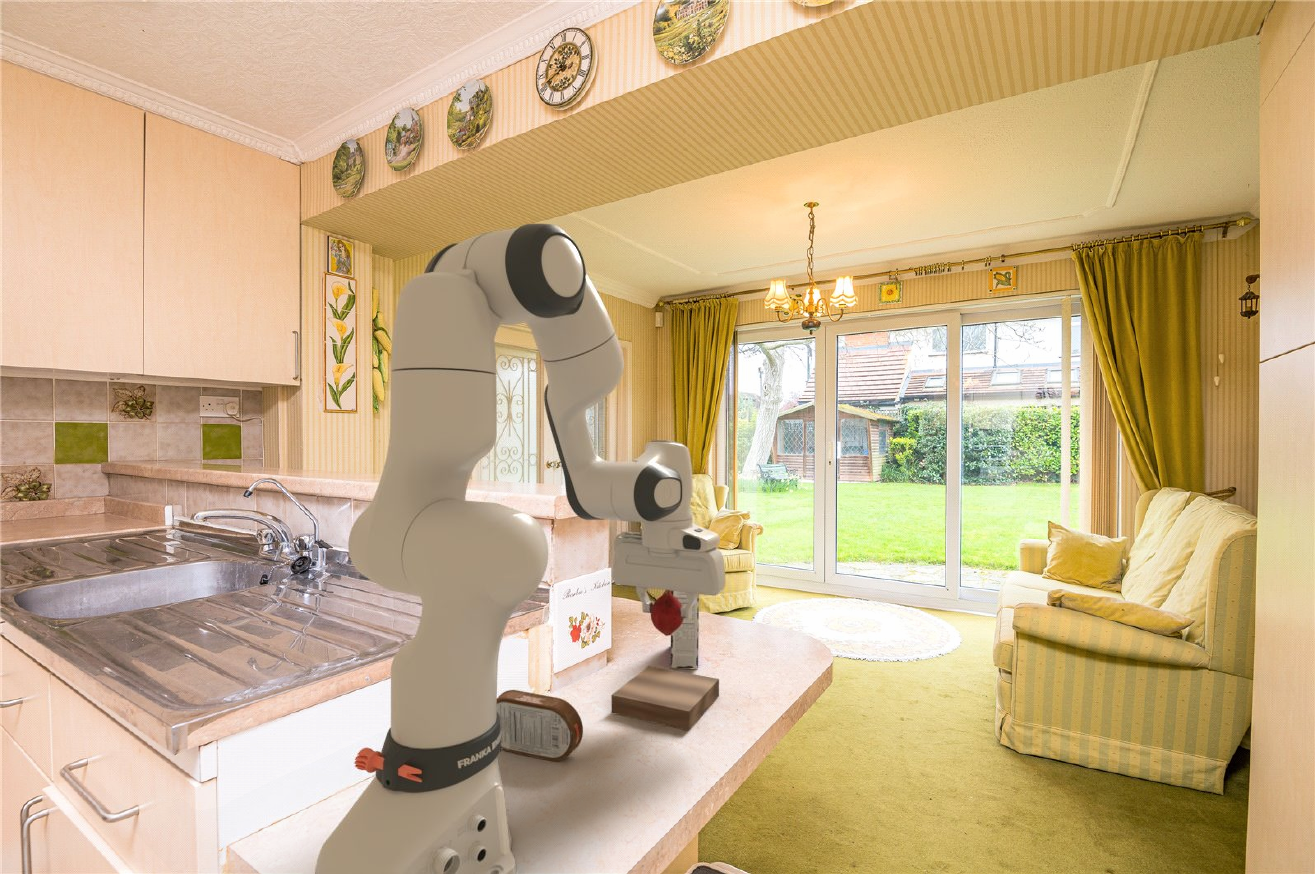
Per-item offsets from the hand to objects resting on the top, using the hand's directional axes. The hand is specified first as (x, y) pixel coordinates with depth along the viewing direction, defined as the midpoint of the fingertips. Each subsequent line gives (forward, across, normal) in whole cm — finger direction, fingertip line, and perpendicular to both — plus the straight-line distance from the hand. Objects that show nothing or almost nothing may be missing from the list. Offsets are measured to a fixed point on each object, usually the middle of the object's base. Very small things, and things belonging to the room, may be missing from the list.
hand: (667, 614), depth 103 cm
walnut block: (+15, 0, 0) cm, 15 cm away
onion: (+4, 0, 0) cm, 4 cm away
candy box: (+16, -6, +22) cm, 28 cm away
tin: (+16, -11, -23) cm, 30 cm away
